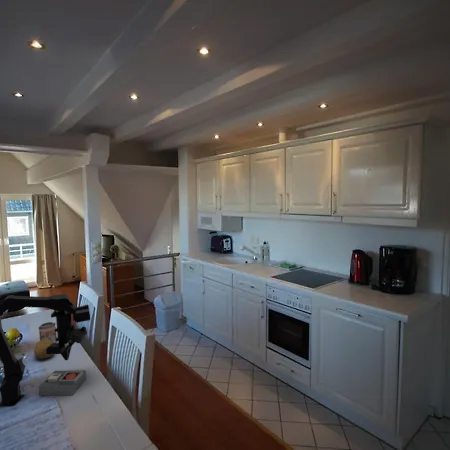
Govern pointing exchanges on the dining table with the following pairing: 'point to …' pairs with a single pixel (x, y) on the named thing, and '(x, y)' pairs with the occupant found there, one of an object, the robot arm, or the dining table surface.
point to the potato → (42, 348)
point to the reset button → (71, 376)
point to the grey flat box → (63, 384)
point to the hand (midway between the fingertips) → (66, 359)
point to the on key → (54, 377)
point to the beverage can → (48, 331)
